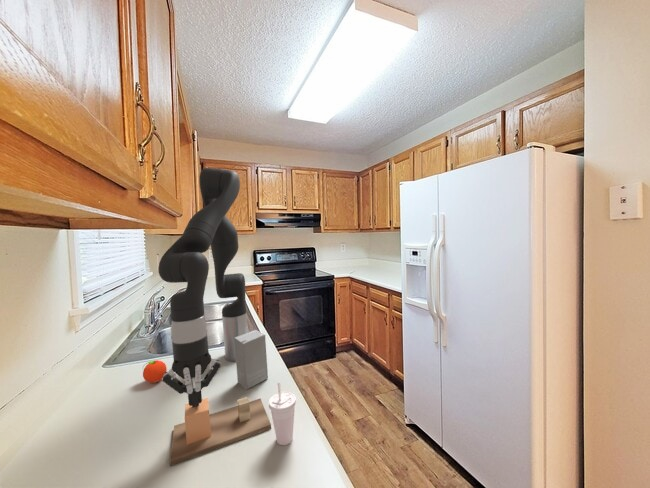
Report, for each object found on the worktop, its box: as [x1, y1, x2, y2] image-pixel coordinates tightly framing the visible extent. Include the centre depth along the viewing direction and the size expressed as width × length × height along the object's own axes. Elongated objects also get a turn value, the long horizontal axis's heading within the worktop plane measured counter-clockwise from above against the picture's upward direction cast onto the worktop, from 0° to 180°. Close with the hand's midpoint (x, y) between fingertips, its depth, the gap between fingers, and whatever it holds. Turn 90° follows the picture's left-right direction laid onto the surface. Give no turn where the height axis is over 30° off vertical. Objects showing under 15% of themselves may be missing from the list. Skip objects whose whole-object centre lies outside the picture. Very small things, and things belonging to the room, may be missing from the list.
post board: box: [169, 396, 272, 467], centre depth 68 cm, size 12×22×6 cm, turn 116°
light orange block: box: [184, 397, 211, 444], centre depth 65 cm, size 5×5×7 cm
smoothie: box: [268, 381, 297, 446], centre depth 63 cm, size 6×6×14 cm
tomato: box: [142, 359, 168, 384], centre depth 92 cm, size 8×7×7 cm
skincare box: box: [234, 329, 269, 390], centre depth 88 cm, size 8×7×16 cm
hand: (195, 405), depth 65 cm, fingers closed
